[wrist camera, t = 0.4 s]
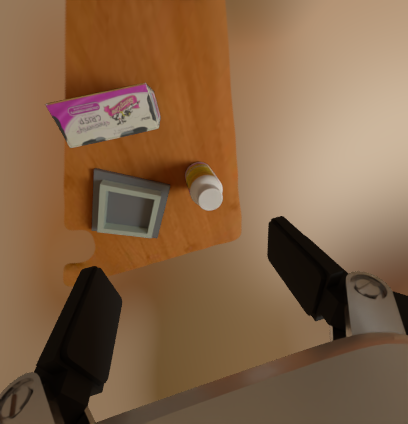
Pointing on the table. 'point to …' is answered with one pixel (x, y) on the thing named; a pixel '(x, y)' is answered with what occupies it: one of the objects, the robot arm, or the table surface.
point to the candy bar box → (106, 115)
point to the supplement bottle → (204, 186)
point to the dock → (127, 204)
